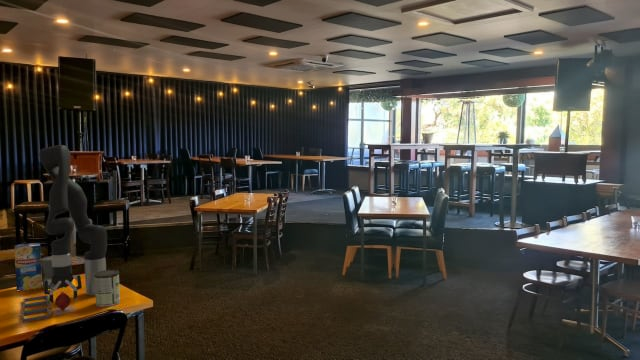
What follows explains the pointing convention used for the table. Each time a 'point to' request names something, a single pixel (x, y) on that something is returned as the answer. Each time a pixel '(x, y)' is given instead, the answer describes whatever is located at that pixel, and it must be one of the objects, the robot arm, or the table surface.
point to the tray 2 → (36, 305)
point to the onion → (62, 301)
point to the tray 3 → (35, 313)
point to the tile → (67, 310)
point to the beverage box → (28, 266)
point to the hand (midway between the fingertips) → (63, 301)
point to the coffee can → (107, 288)
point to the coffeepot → (47, 269)
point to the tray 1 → (36, 298)
